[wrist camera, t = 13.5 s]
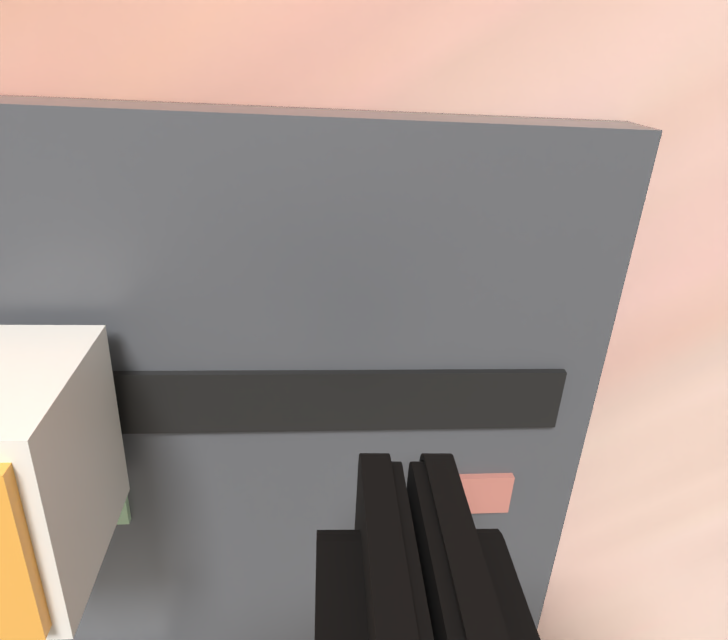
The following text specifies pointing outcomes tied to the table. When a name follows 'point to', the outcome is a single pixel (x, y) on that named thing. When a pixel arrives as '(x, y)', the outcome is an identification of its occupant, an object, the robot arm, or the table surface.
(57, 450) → the block
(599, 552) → the table surface
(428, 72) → the table surface
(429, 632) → the robot arm
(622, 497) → the table surface
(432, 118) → the breaker panel
